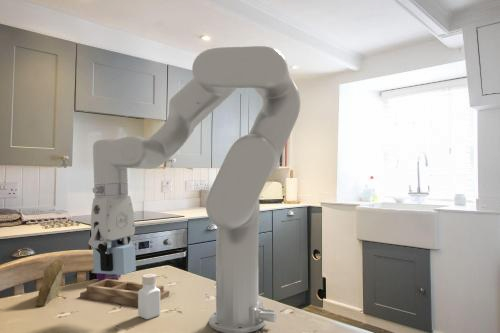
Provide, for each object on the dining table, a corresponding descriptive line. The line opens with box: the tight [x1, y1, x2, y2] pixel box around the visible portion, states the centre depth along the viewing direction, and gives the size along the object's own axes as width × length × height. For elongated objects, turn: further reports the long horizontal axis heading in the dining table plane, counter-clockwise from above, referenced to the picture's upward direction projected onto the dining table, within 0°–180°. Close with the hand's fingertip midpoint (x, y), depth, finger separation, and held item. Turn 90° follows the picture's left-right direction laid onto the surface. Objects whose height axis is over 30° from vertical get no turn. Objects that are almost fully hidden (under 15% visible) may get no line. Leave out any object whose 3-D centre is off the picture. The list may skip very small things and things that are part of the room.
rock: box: [34, 260, 65, 307], centre depth 97 cm, size 11×9×10 cm
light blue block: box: [92, 240, 137, 276], centre depth 86 cm, size 9×4×7 cm, turn 68°
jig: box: [79, 279, 170, 307], centre depth 99 cm, size 22×10×3 cm, turn 68°
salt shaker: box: [137, 273, 161, 320], centre depth 85 cm, size 4×4×10 cm
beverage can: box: [96, 273, 122, 281], centre depth 116 cm, size 7×7×12 cm
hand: (114, 267), depth 86 cm, fingers closed on light blue block, 4 cm apart
